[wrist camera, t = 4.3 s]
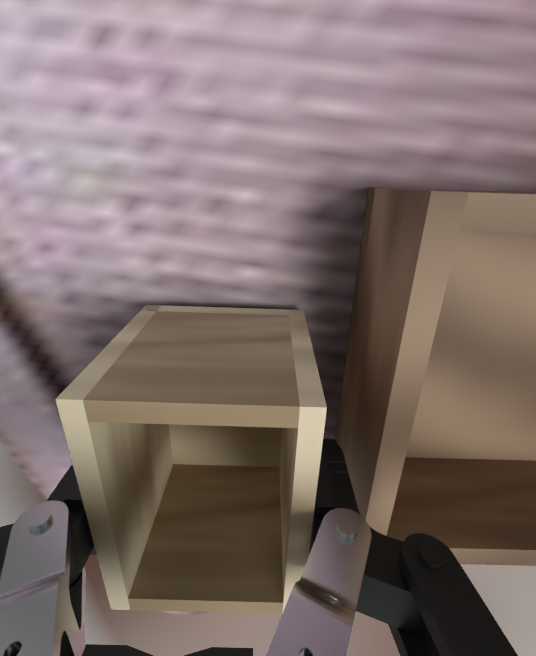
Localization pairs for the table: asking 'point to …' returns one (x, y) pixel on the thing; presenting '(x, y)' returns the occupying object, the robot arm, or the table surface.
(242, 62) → the table surface
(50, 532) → the robot arm
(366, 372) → the walnut crate
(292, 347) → the pine crate
